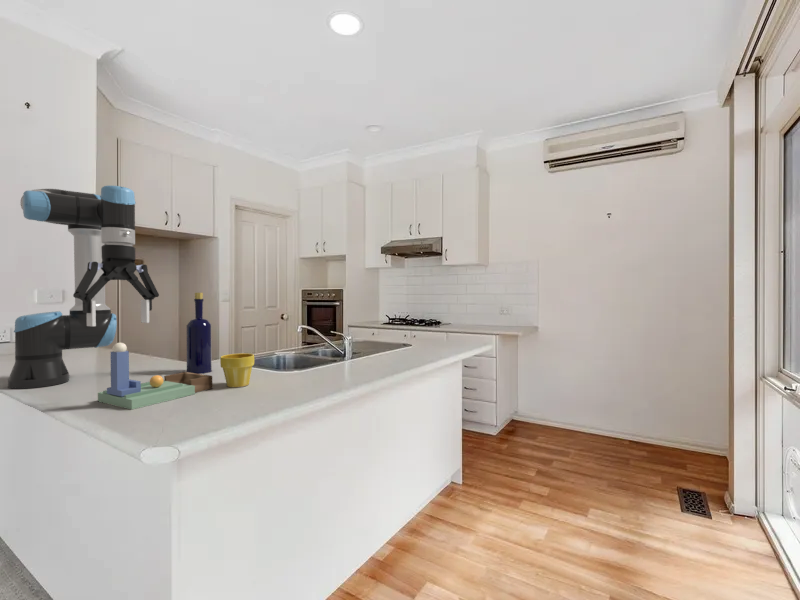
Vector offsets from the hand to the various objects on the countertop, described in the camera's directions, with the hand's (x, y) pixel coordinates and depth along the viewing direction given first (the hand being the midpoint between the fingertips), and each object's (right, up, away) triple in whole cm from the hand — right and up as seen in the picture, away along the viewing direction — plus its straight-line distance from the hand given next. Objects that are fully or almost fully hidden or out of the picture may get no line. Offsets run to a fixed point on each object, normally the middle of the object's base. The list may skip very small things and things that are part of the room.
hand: (119, 324), depth 111 cm
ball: (+4, -17, +9) cm, 20 cm away
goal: (+9, -21, +18) cm, 30 cm away
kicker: (0, -19, +1) cm, 19 cm away
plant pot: (+23, -21, +23) cm, 39 cm away
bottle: (-1, -21, +45) cm, 50 cm away
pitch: (+3, -22, +7) cm, 23 cm away
